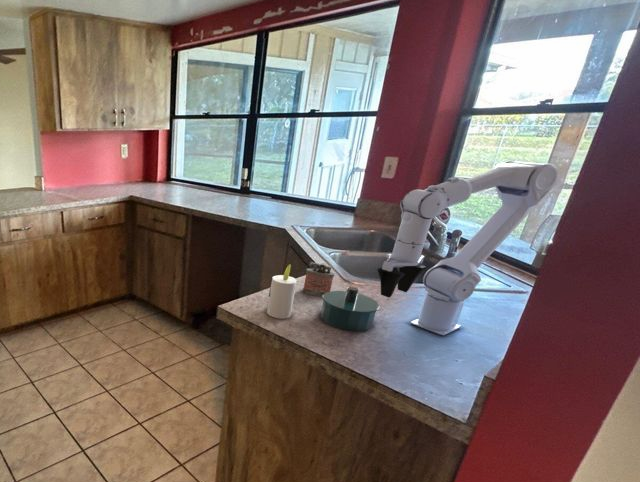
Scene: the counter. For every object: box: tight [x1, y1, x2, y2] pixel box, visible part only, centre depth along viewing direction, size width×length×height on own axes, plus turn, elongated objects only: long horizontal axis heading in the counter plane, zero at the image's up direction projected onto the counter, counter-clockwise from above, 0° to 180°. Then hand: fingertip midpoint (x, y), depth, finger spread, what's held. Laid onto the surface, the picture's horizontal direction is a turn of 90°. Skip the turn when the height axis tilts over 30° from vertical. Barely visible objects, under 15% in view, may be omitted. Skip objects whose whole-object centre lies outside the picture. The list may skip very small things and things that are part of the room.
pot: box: [320, 300, 377, 332], centre depth 110 cm, size 13×13×5 cm
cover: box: [322, 286, 380, 313], centre depth 108 cm, size 14×14×5 cm
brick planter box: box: [302, 261, 336, 298], centre depth 126 cm, size 8×3×10 cm, turn 58°
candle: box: [266, 263, 298, 320], centre depth 111 cm, size 6×6×15 cm
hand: (394, 293), depth 102 cm, fingers open, 7 cm apart
